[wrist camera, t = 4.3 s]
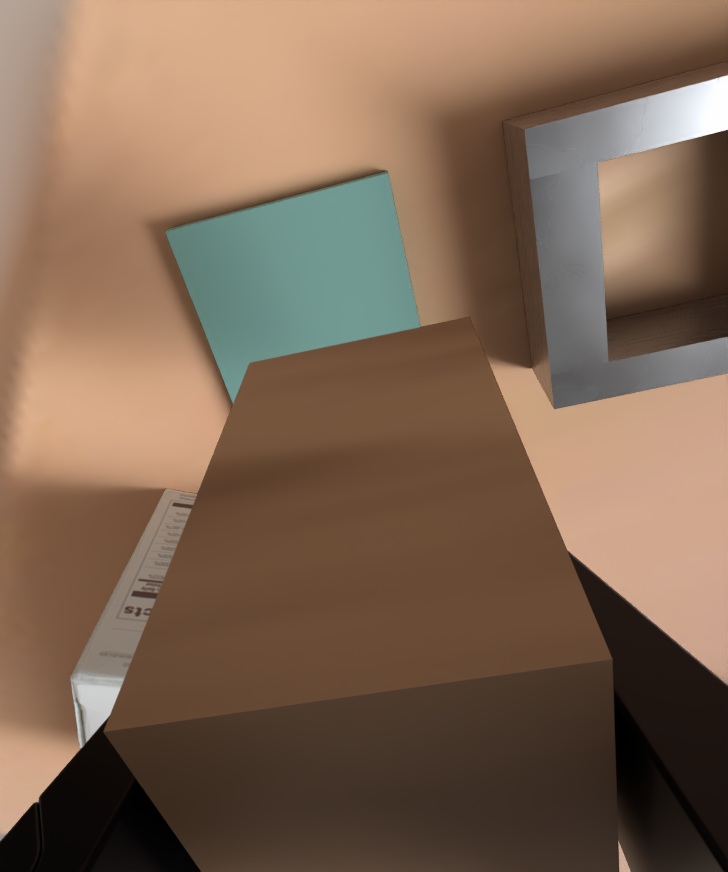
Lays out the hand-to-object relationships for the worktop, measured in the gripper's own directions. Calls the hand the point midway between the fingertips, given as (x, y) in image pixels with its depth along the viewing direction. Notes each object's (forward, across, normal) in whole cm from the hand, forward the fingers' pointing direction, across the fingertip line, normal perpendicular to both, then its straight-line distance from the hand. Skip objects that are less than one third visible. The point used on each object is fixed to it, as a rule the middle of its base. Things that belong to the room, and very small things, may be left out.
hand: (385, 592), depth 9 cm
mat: (+13, +2, +1) cm, 13 cm away
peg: (+5, 0, 0) cm, 5 cm away
